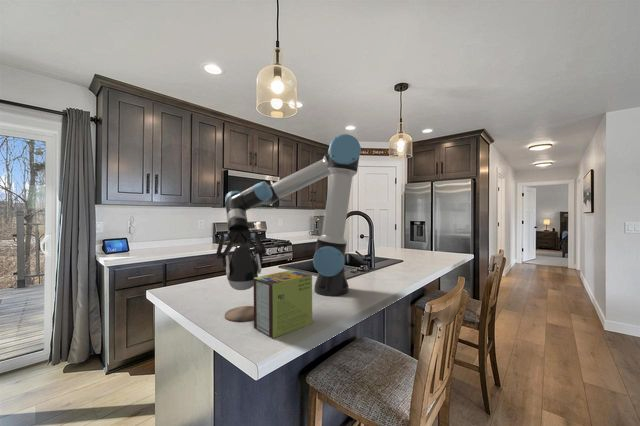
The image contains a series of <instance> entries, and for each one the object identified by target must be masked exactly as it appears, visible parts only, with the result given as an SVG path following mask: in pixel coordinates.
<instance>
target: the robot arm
mask: <svg viewBox="0 0 640 426" xmlns="http://www.w3.org/2000/svg"><path fill="white" fill-rule="evenodd" d="M328 147H329V148H328V153H327V154H325V155H324V156H323V158H322V159H320V160H318V161H315V162H314V163H312V164H310V165H308V166H306V167H304V168H302V169H300V170H298V171H296V172H295V171H294V173H291V174H289V175H287V176H285V177H283V178H281V179H279V180H277V181H275V182H273V183H272V184H271V183H270V184H268V183H267V182H266V181H265V180H264V181H263V180H262V181H261V182H258V183H255V184H254V185H253V186H250V187H249V188H247V189H245V190H242V191H239V190H231V191H228V193H226V194H225V198H224V199H225V202H224V205H225V210H226V211H225V212H226V220H227V221H226V223H227V233H224V232H220V233H219V243H218V246H217V250H216V253H215V258H216V260H219V259H220V260H221V266H222V268H225V272H226V274H225V275H226V278H227V277H229V273H230V270H229V262H230V260H229V259H230V258H229V254H230V252H231V250H232V249H233V247H234V245H241V244H245V245H248V246H249V247H250V249H251V248H254V247H257V250H255V251H253V254H254V256H255V260H256V264H257V270H258V275H260V274H261V272H262V264H263V262H264V261H263V257H265V256H266V253H267V249H266V247H265V245H264V244H263V242H262V239H261V238H260V236H259V231H255V232H251V231H250V228H249V221H248V216H247V211H249V210H250V209H252V208H254V207H256V206H258V205H263V206H264V205H265V206H270V205H273V204H274V203H275V202H277V201H279V200H280V199H282V198H285V197H286V196H288V195H291V194H293V193H294V192H297V191H300V190H301V189H304V188H306V187H307V186H309V185H312V184H314V183H316V182H318V181H321V180H322V179H324V178H326V177H329V182H328V190H327V195H326V196H327V197H326V202H325V203H326V204H325V211H324V217H323V222H322V223H323V225H322V229H321V230H322V231H321V235H320V236H318V237H317V238H316V239H317V240H316V245H315V253H314V255H313V257H312V263H313V268H314V269H315V270H316V271H317V273H318V274H317V277H316V280H315V283H314V285H313V286H314V290H313V291H314V292H315V293H316V294H318V295H322V296H333V297H334V296H343V295H345V294H348V293H349V289H350V288H349V283H348V280H347V277H346V274H345V273H346V272H345V271H346V270H345V263H346V262H345V260H346V258H345V257H346V249H347V241H346V239H345V237H344V236H345V230H346V223H347V215H348V211H349V204H350V198H351V197H350V195H351V190H352V189H351V188H352V182H353V177H354V176H355V175H357V173H358V170H359V169H358V168H359V162H360V156H361V153H362V152H361V151H362V146H361V145H360V142H359V140H358V138H356V137H355V136H353V135H351V134H349V133H342V134H339V135H337V136H335V137H334V138H333V139H332V140H331V141H330V144H329V146H328ZM227 239H229V240H230V241H229V242H228V244H227V245H226V247H225V248H224V250H223V246H224V242H225V241H226V240H227ZM252 240H254V242H253V241H252ZM222 250H223V252H222Z"/></svg>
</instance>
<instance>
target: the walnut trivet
mask: <svg viewBox="0 0 640 426" xmlns="http://www.w3.org/2000/svg"><path fill="white" fill-rule="evenodd" d="M224 319H225V320H227V321H230V322H236V323H237V322H238V323H242V322H243V323H244V322H250V321H254V305H245V306H244V305H243V306H237V307H234V308H231V309H228V310H227V311H225V313H224Z"/></svg>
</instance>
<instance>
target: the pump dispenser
mask: <svg viewBox="0 0 640 426" xmlns="http://www.w3.org/2000/svg"><path fill="white" fill-rule="evenodd" d="M257 247H258V246H257ZM257 247H254V248H251V249H250V247H249V246H248V245H245V243H244V244H237V246H236V247H235V248H234V250H233V252H232V254H231V256H230V258H229V259H230V260H229V270H230V273H229V277H227V276H226V278H227V279H226V280H227V281H228V284H229V286H230V287H231V288H232V289H233V290H236V291H246V290H250V289H252V288H254V284H253V278H255V277H259V274H258V270H257V264H256V256H255V254H254V252H253V251H255V250H257Z"/></svg>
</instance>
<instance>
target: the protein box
mask: <svg viewBox="0 0 640 426" xmlns="http://www.w3.org/2000/svg"><path fill="white" fill-rule="evenodd" d="M253 284H254V286H253V306H254V320H253V328H254V329H255V330H257V331H258V332H260V333H262V334H264V335H266V336H267V337H268V338H271V339H275V338H278V337H281V336H283V335H286V334H288V333H290V332H294V331H296V330H299V329H301V328H303V327H305V326H309V325H312V323H313V275H312V273H311V274H310V273H306V272H301V271H298V270H293V269H289V270H285V271H281V272H275V273H274V272H273V273H270V274H265V275H260V276H258V277H255V278H253Z"/></svg>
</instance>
